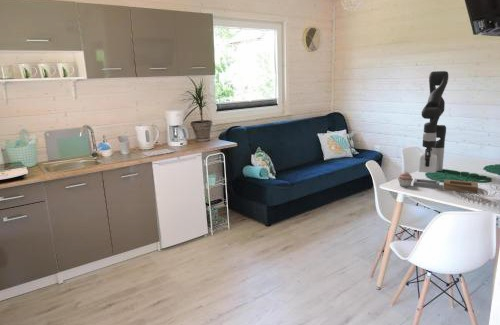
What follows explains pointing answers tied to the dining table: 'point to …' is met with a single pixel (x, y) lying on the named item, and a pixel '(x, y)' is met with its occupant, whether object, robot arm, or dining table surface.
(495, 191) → the dining table surface
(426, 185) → the holster
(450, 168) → the dining table surface
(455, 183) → the dock
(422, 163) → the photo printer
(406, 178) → the cupcake
